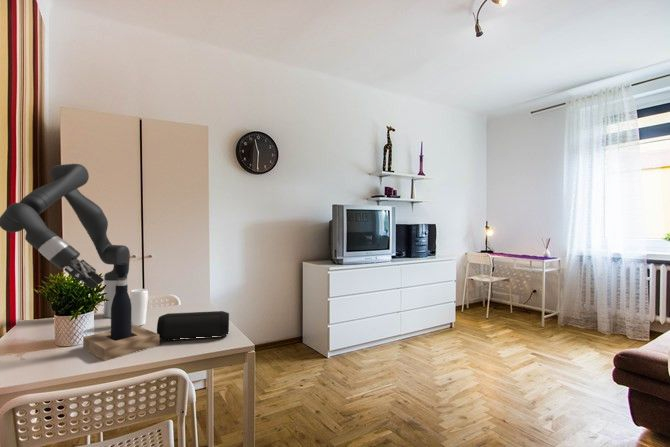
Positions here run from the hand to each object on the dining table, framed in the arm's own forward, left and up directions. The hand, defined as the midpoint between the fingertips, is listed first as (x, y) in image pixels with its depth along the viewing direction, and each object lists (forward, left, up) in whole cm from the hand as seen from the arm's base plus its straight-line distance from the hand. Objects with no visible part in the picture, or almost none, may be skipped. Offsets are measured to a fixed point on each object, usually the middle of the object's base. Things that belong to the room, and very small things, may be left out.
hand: (98, 284), depth 125 cm
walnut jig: (-6, +4, -23) cm, 24 cm away
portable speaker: (-28, +15, -23) cm, 40 cm away
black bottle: (-6, +4, -23) cm, 24 cm away
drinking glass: (-22, -18, -23) cm, 37 cm away
